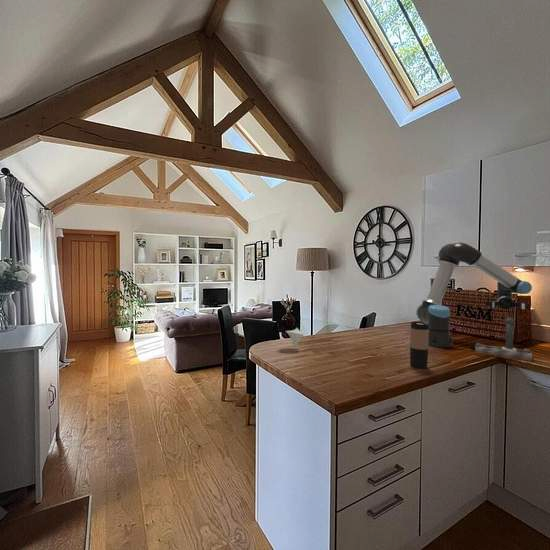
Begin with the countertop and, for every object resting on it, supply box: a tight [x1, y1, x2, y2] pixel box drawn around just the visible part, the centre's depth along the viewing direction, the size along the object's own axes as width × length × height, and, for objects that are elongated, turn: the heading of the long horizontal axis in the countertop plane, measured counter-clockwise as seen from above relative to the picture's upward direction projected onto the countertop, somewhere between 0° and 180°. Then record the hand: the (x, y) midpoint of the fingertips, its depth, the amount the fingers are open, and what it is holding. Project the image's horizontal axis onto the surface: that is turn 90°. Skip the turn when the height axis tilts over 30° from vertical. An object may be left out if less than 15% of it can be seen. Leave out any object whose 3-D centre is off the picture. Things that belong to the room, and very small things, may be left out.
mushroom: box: [285, 327, 305, 350], centre depth 169 cm, size 10×11×12 cm
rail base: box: [474, 342, 533, 362], centre depth 166 cm, size 24×12×4 cm, turn 57°
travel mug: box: [409, 321, 429, 369], centre depth 144 cm, size 8×8×20 cm
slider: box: [501, 317, 517, 352], centre depth 164 cm, size 6×5×19 cm
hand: (508, 305), depth 172 cm, fingers open, 13 cm apart
